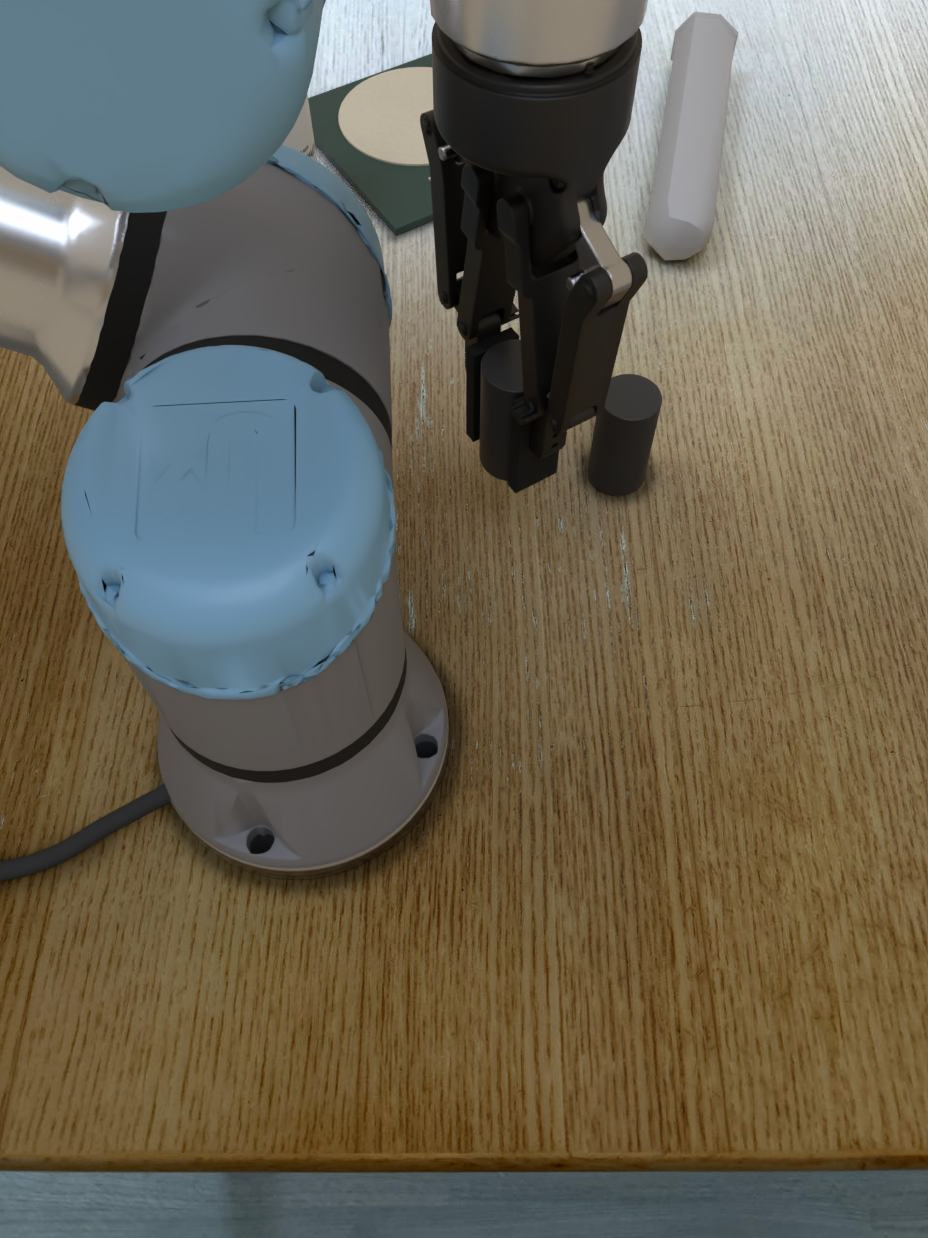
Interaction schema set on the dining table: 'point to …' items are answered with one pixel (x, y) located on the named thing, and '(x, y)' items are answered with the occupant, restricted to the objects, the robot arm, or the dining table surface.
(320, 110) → the green board with circle
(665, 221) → the tube
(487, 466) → the eye peg left
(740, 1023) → the dining table surface
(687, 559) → the dining table surface
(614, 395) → the eye peg right
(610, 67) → the robot arm
